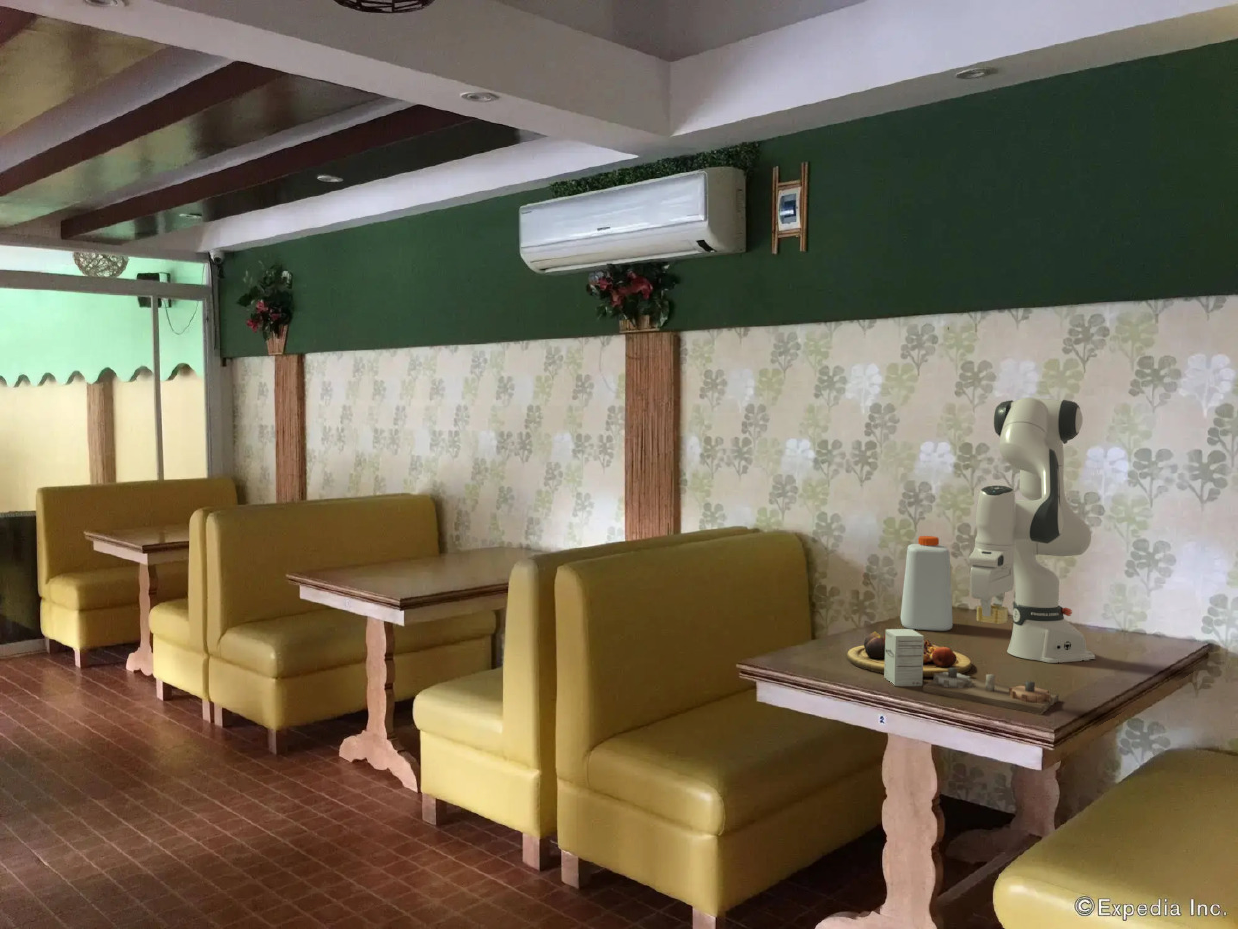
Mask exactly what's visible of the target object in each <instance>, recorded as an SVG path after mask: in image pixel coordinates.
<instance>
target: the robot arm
mask: <svg viewBox="0 0 1238 929" xmlns="http://www.w3.org/2000/svg"><path fill="white" fill-rule="evenodd" d="M1083 421H1084V420H1083V415H1082V411H1081V408H1080V406H1079V404H1078V403H1077V402H1075V401H1072V400H1068V399H1063V400H1060V399H1059V400H1058V399H1045V398H1034V397H1022V398H1020V399H1018V400H1014V399H1013V400H1012V399H1011V400H1006V401H1002V402H1000V403H999V404H998V405H997V406H996V407H995V410H994V412H993V416H992V425H993V428H994V432H995V433H996V434H997V435H998V436H999V442H998V443H999V445H998V446H999V447H998V448H999V452H1000V454H1001V457H1002V458H1003V459H1004V461H1006V463H1008V464H1009V465H1010V466H1012V467H1013V468H1015V469H1017V470H1019V486H1018V487H1019V492H1020V493H1021V495H1022V496H1023V497H1024V498H1025V499H1016V497H1015V496H1016V495H1015V491H1014V489H1013V487H1012V488H1011V487H1009V486H1006V485H990V486H989V485H988V486H984V487H983V488H981V489H980V491H979V494H978V499H977V504H976V514H975V527H976V537H975V539H974V541H975V542H974V548H973V551H972V553H971V554H970V555H969V557H968V564H969V566H971V568H970V593H971V597H972V598H973V599H976V600H980V605H982V615H983V616H991V615H992V608H991V605H997V606H1003V604H1004V600H1005V598H1006V597H1005V596H1006V595H1005V594H1006V593H1007V592H1010V591H1012V590H1013V589H1014V587H1015V594H1014V596H1015V598H1014V602H1013V604H1012V605H1013V607H1012V622H1013V627H1012V630H1011V632H1012V633H1011V638H1010V641H1009V644H1008V647H1007V651H1006V652H1007V653H1008V654H1010V655H1012V656H1014V657H1017V658H1021V659H1026V660H1033V661H1038V662H1039V661H1040V662H1044V663H1049V664H1058V662H1059V663H1070V662H1080V661H1081V662H1083V661H1082V660H1084V661H1090V660H1089V659H1095V660H1096V656H1095V654H1094V653H1093V652H1092V651H1089V650H1087V644H1086V639H1085V636H1084V635H1083V634H1082V632H1080V630H1078V629H1077V628H1076V627H1074V626H1073V625H1072V624H1071V623H1069V621H1067V620H1066V619H1065V616H1067V617H1071V616H1072V614H1073V610H1072V609H1071V608H1068V607H1062V606H1061V605H1059V602H1060V601H1059V600H1060V599H1059V598H1060V596H1059V595H1060V580H1059V577H1058V576H1057V575H1056V573H1055V572H1054V571H1052V570H1051V569H1049V568H1047V567H1045V566H1044V565H1042V564H1041V563H1039V562H1038V560H1037V558H1036V556H1038V555H1041V556H1051V557H1052V556H1054V557H1073V556H1079V555H1083V554H1084V553H1085V552H1086V551H1087V550H1088V549H1089V547H1090V546H1091V541H1092V532H1091V530H1090V527H1089V525H1088V524H1087V523H1086V521H1084V520H1083V519H1082V518H1080V517H1079V516H1078V515H1077V514H1076V513H1075V512H1074V510H1073V509H1072V508H1071V506H1070V504H1069V503H1068V501H1067V498H1066V494H1065V485H1064V484H1065V482H1064V481H1065V480H1064V470H1065V469H1064V468H1065V455H1064V445H1065V444H1067V443H1068V441H1071V440H1074V439H1075V438H1076V437H1077V436H1078V434H1080V430H1081V428H1082V425H1083ZM1014 583H1015V584H1014ZM993 598H994V600H992V599H993ZM992 601H993V604H992Z"/></svg>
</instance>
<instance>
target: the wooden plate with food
mask: <svg viewBox="0 0 1238 929" xmlns="http://www.w3.org/2000/svg"><path fill="white" fill-rule="evenodd" d="M885 636H886V633H885V634H884V635H881V634H880V633H878V632H877V631H873V632H872V633H869V635H868V636H866V638H865V639H864V642H863V644H862V645H858V646H855V647H852V648H850V649H849V650H848V652H847V653H846V657H847V660H848V661H849V663H851V664H852V665H854V666H855V667H858V668H861V669H864V670H867V669H868V670H867V671H870V670H871V672H874V671H875V672H876V673H879V672H880V674H884V667H885ZM948 668H956V669H957V673H961V674H962V675H964V674H965V673H967V672H969V671H970V670H971V668H972V661H971V660H970V658H969V657H968V656H966V655H964V654H962V653H959V652H956V651H954V650H952V648H949V647H947V646H938V645H935V644H932V643H931V642H930V640H929V639H928V640H925V639H924V652H923V678H934V674H935V673H937V674H939V673H942V672H947V673H948Z"/></svg>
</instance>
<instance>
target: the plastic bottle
mask: <svg viewBox="0 0 1238 929" xmlns="http://www.w3.org/2000/svg"><path fill="white" fill-rule="evenodd" d="M939 541H940V539H939V537H938V536H932V535H921V536H919V537H918V541H917V542H918V543H911V544H909V545H908V546H907V548H906V558H905V559H906V561H905V571H904V578H903V587H902V599H901V610H900V623H901V624H902V626H903V627H904V628H905V629H913V630H915V629H916V630H917V631H918V630H919V631H931V632H933V631H935V632H936V631H937V632H946V631H950V630H951V629H952V628H953V605H952V604H953V603H952V602H953V601H952V581H951V579H952V578H951V575H952V574H951V556H950V555H951V554H950V550H949V548H948V547H947V546H945V545H942V544H939ZM916 630H915V631H916Z"/></svg>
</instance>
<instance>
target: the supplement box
mask: <svg viewBox="0 0 1238 929" xmlns="http://www.w3.org/2000/svg"><path fill="white" fill-rule="evenodd" d="M885 634H886V636H885V635H884V636H885V667H884V673H883V674H884V676H883V679H885V678H886V679H885V680H886V681H888V682H889V681H890V682H889V683H891V682H892V683H893V684H894V685H893V684H892V683H891V684H892V685H893V686H894V687H923V682H924V681H923V679H924V677H923V652H924V640H925V635H923V634H921V633H920V632H918V631H916V630H915V629H909V628H897V629H896V628H891V629H890V628H889V629H888V628H887V629H885ZM899 685H900V686H899Z"/></svg>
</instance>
